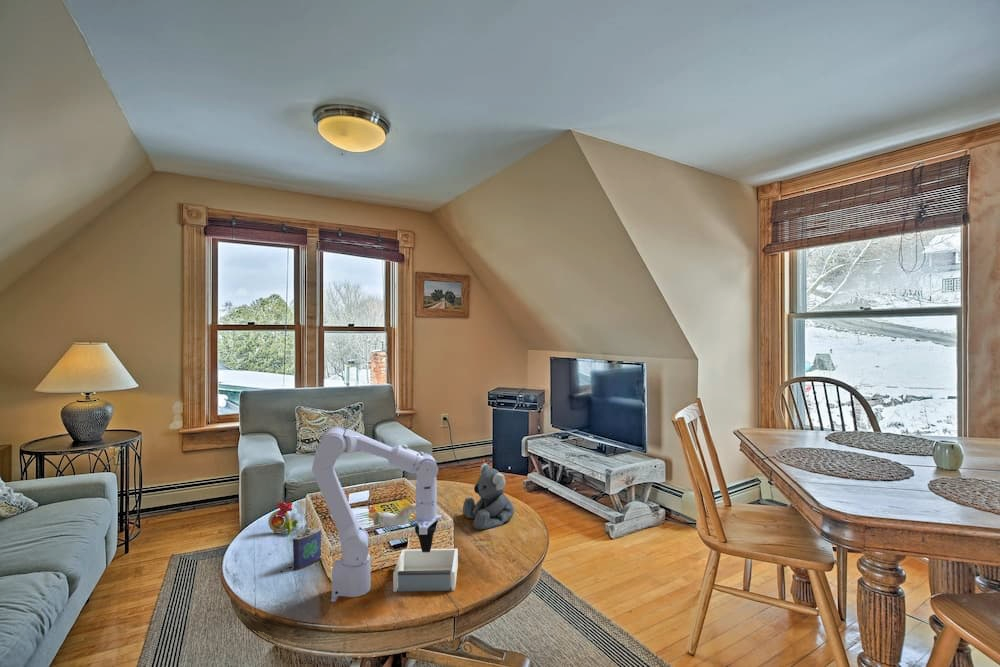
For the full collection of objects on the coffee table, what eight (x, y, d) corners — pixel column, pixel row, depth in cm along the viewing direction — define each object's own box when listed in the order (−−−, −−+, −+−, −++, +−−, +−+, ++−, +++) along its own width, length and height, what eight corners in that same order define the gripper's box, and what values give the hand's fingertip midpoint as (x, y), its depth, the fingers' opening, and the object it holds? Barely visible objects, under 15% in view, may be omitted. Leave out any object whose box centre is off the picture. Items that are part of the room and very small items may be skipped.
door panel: (397, 591, 122) (397, 573, 122) (398, 589, 123) (398, 571, 123) (450, 590, 122) (450, 572, 122) (450, 588, 124) (450, 570, 124)
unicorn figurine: (425, 548, 149) (425, 506, 149) (365, 547, 150) (365, 505, 150) (430, 538, 156) (430, 498, 156) (373, 537, 157) (372, 497, 157)
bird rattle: (272, 543, 158) (298, 530, 159) (258, 514, 157) (284, 501, 158) (278, 535, 164) (303, 523, 165) (264, 507, 163) (289, 495, 165)
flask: (318, 555, 144) (318, 521, 144) (324, 558, 143) (324, 523, 143) (291, 568, 137) (291, 532, 136) (297, 571, 135) (297, 534, 135)
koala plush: (460, 515, 176) (459, 463, 176) (503, 507, 184) (502, 457, 184) (477, 532, 161) (477, 476, 161) (523, 523, 168) (523, 469, 168)
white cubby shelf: (393, 596, 122) (393, 573, 122) (402, 570, 135) (402, 549, 135) (454, 594, 123) (454, 572, 122) (457, 569, 136) (457, 548, 136)
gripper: (438, 510, 121) (438, 562, 121) (443, 490, 135) (443, 537, 135) (410, 510, 120) (411, 563, 120) (419, 491, 135) (419, 538, 135)
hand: (426, 549), depth 128 cm, fingers closed
